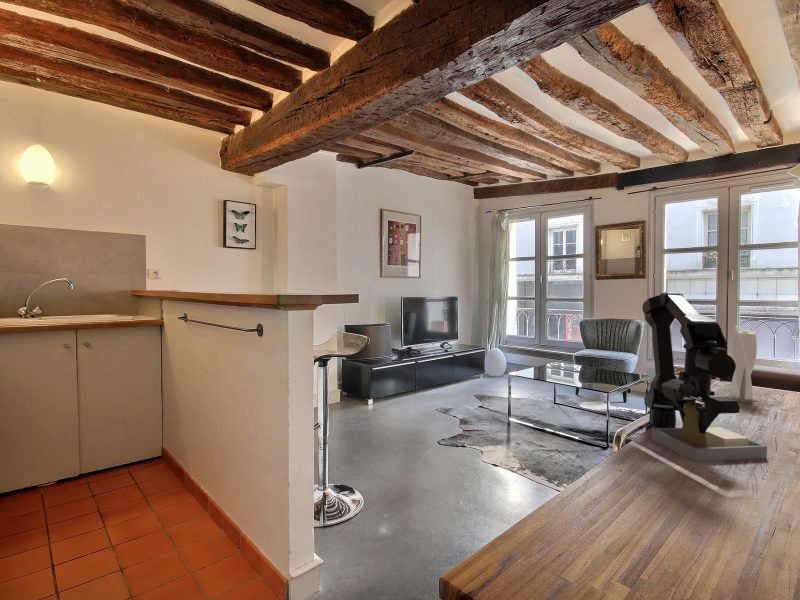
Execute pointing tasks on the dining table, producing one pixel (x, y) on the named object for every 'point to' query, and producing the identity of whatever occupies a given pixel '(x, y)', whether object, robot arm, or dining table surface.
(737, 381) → the skyscraper
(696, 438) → the olive tall rounded piece
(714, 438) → the cream beveled block
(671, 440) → the tray
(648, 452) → the dining table surface
